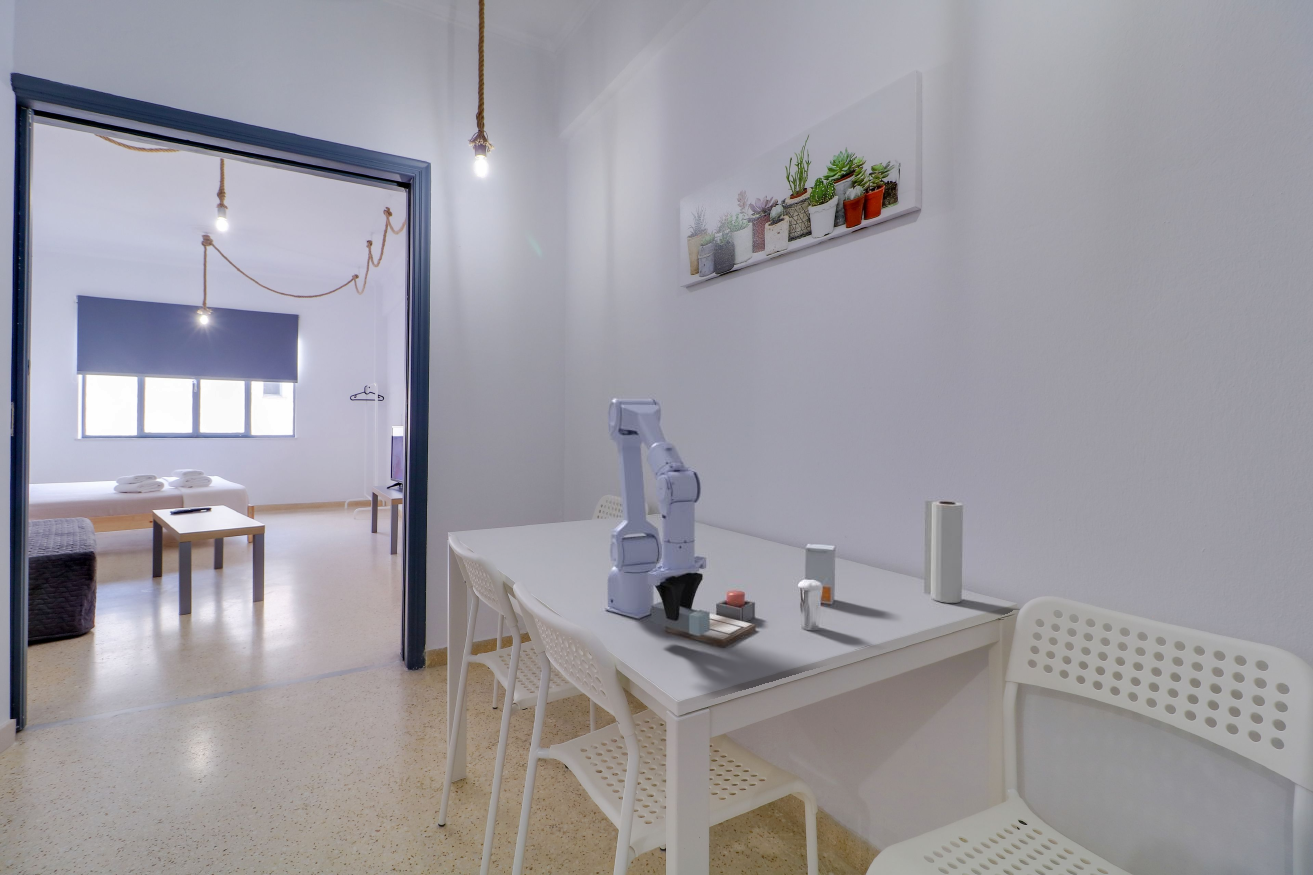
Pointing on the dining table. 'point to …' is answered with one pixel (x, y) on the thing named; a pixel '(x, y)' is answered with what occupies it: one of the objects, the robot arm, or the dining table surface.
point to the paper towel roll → (943, 550)
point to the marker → (682, 619)
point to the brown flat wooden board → (720, 631)
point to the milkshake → (810, 603)
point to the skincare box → (821, 569)
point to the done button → (736, 598)
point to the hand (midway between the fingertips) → (678, 616)
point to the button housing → (736, 611)
